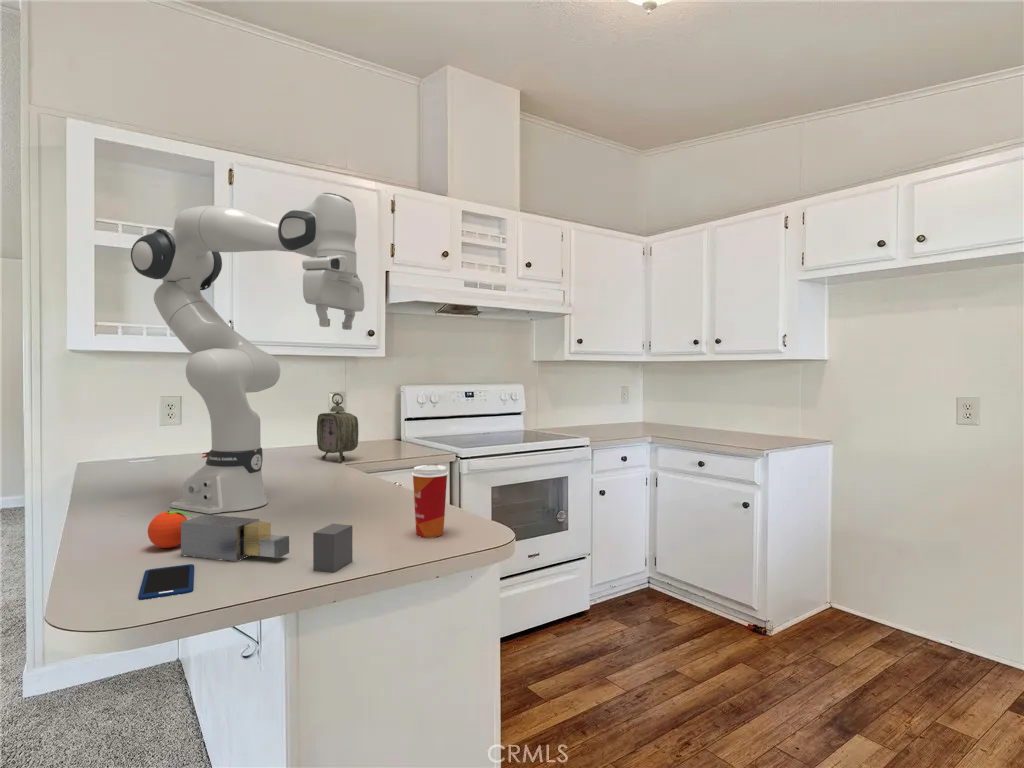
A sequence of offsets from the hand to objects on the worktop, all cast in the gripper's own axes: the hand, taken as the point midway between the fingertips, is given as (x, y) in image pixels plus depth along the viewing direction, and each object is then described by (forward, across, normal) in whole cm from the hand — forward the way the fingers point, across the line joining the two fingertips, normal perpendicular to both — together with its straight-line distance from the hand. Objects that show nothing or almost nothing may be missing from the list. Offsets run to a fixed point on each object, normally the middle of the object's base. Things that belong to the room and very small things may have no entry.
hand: (336, 328), depth 134 cm
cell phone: (+44, +42, -5) cm, 61 cm away
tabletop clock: (+44, -75, -44) cm, 98 cm away
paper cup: (+44, +5, +25) cm, 51 cm away
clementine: (+44, +27, -19) cm, 55 cm away
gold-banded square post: (+44, +28, -3) cm, 52 cm away
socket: (+44, +28, +16) cm, 54 cm away
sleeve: (+44, +28, -7) cm, 52 cm away
